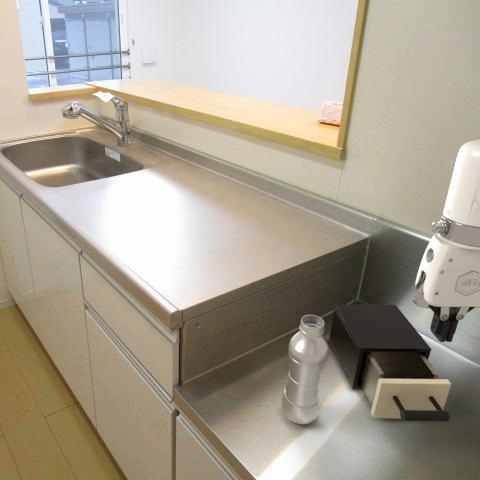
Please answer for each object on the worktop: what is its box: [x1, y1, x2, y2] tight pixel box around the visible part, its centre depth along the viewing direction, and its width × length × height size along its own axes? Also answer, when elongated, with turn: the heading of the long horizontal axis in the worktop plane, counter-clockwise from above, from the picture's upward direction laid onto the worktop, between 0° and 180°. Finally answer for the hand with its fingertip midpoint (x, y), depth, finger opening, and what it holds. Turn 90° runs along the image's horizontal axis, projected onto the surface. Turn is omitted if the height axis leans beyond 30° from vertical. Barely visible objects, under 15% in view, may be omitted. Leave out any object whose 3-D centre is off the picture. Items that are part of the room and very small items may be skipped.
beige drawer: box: [358, 352, 452, 422], centre depth 80 cm, size 18×11×8 cm, turn 178°
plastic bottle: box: [281, 314, 330, 425], centre depth 76 cm, size 6×7×20 cm
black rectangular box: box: [328, 304, 432, 390], centre depth 90 cm, size 15×13×10 cm
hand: (440, 336), depth 71 cm, fingers closed
